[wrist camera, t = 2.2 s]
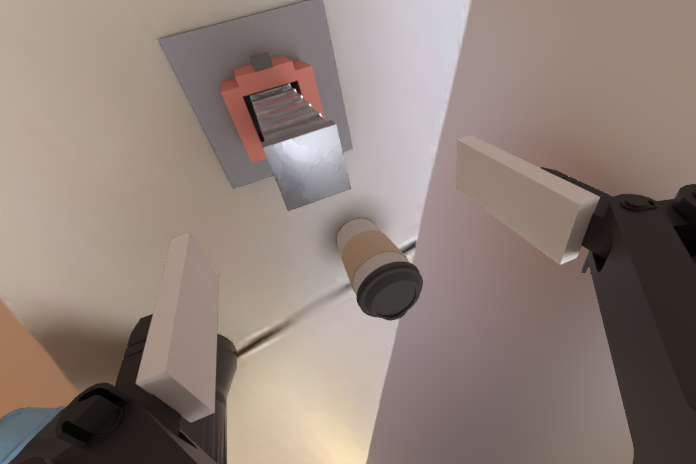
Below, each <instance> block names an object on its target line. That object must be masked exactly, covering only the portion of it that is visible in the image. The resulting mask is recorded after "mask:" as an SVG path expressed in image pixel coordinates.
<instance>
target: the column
mask: <svg viewBox="0 0 696 464" xmlns="http://www.w3.org/2000/svg"><path fill="white" fill-rule="evenodd" d="M250 98H251V101H252V104H253V107H254V110H255V113H256V116H257V119H258V122H259V125H260V128H261V132H262V134H263V137H264V140H265V141H264V142H261V143H262V146H263V149H264V152H265V154H266V157H267V159H268V162H269V164H270V167H271V169H272V172H273V174H274V177H275V179H276V182H277V184H278V187H279V189H280V192H281V194H282V197H283V199H284V202H285V204H286V207H287V209H288V211H290V210H293V209H296V208H298V207H301V206H304V205H307V204H310V203H312V202H315V201H318V200H321V199H324V198H327V197H329V196H332V195H335V194H338V193H341V192H343V191H346V190H349V189H351V187H350V183H349V178H348V174H347V170H346V165H345V161H344V156H343V152H342V148H341V143H340V139H339V134H338V130H337V126H336V124H335V123H334V122H333V121H332V120H330V121H325V120H324V119H323V118H322V117H321V113H320V112H319V111H315V110H314V109H313V108H312V107H311V104H310V103H309V102H306V101H305V100H304V99H303V96H302V95H301V94H298V93H297V92H296V89H295V88H292V87H291V85H290V83H287V84H284V85H280V86H277V87H274V88H270V89H267V90H263V91H260V92H257V93H253V94H250Z"/></svg>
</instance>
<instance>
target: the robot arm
mask: <svg viewBox="0 0 696 464" xmlns="http://www.w3.org/2000/svg"><path fill="white" fill-rule="evenodd" d="M456 188H457V189H458V190H459V191H461V192H462V193H463V194H465V195H466V196H467V197H469V198H470V199H472V200H473V201H474V202H476V203H477V204H478V205H480V206H481V207H482V208H484V209H485V210H487V211H488V212H489V213H490V214H492V215H493V216H495V217H496V218H497V219H499V220H500V221H502V222H503V223H504V224H505V225H507V226H508V227H509V228H511V229H512V230H514V231H515V232H516V233H518V234H519V235H520V236H522V237H523V238H524V239H526V240H527V241H528V242H530V243H531V244H532V245H534V246H535V247H536V248H538V249H539V250H540V251H542V252H543V253H545V254H546V255H547V256H549V257H550V258H551V259H553V260H554V261H555V262H557V263H558V264H559V265H560V264H563V263H566V262H568V261H570V260H572V259H575V258H577V256H578V253H579V251H580V248H581V246H584V247H585V248H587V249H588V250H590V251H589V253H588V255H587V258H586V260H585V263H584V265H583V268H582V273H586V270H587V268H588V267H590V271H591V275H592V279H593V283H594V287H595V291H596V295H597V299H598V303H599V307H600V311H601V315H602V319H603V324H604V328H605V332H606V336H607V340H608V344H609V348H610V352H611V356H612V360H613V364H614V368H615V373H616V376H617V381H618V385H619V389H620V393H621V397H622V401H623V405H624V409H625V413H626V418H627V421H628V425H629V430H630V434H631V438H632V442H633V447H634V459H633V464H696V184H691V185H685V186H683V187H682V188H680V190H679V191H678V193H677V195H676V197H675V198H674V199H671V200H663V201H655V200H653V199H651V198H648V197H645V196H641V195H634V194H621V195H617V196H614V197H613V196H610V195H608V194H606V193H604V192H602V191H599V190H597V189H595V188H593V187H591V186H589V185H587V184H584V183H582V182H580V181H579V182H578V181H577V180H576V179H574V178H571V177H568V176H567V175H565V174H563V173H561V172H558V171H556V170H552V169H548V168H543V167H541V168H539V167H537V166H534V165H532V164H530V163H528V162H526V161H524V160H522V159H520V158H518V157H516V156H513V155H511V154H509V153H507V152H505V151H503V150H501V149H499V148H497V147H495V146H493V145H490V144H488V143H486V142H484V141H482V140H480V139H478V138H476V137H474V136H472V135H470V136H467V137H464V138H461V139H458V140H457V163H456ZM218 291H219V275H218V273H217V272H216V270H215V269H214V267H213V266H212V264H211V263H210V262H209V260H208V259H207V257H206V256H205V254H204V253H203V251H202V250H201V248H200V247H199V245H198V244H197V243H196V241H195V240H194V238H193V237H192V235H191V234H190V233H187V234H184V235H181V236H178V237H175V238H173V239H172V240H171V244H170V248H169V252H168V256H167V260H166V264H165V268H164V272H163V276H162V280H161V284H160V288H159V292H158V296H157V300H156V304H155V308H154V312H153V314H151V315H149V316H146V317H143V318H141V319H140V320H139V322H138V323H137V325H136V326H135V328H134V329H133V331H132V332H131V335H130V339H129V342H128V345H127V346H128V348H127V349H126V352H125V355H124V358H125V359H124V360H123V362H122V365H121V368H120V371H119V375H118V378H117V381H116V384H115V387H114V386H113V385H111V384H109V383H99V384H96V385H94V386H92V387H90V388H87V389H86V390H85V391H83V392H82V393H81V394H79V395H78V396H77V397H76V398H75V399H74V400H73V401H72V402H71V403H70V404H69V405H68V406H67V407H64V406H61V407H59V408H20V409H17V410H14V411H12V412H10V413H8V414H6V415H5V416H3V417H2V418H1V419H0V464H227V414H226V399H227V395H228V392H229V389H230V386H231V383H232V380H233V377H234V374H235V371H236V367H237V353H236V349H235V347H234V345H233V344H232V343H231V342H230V341H229V340H227V339H226V338H224V337H222V336H219V335H217V322H218Z"/></svg>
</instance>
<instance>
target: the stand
mask: <svg viewBox="0 0 696 464" xmlns="http://www.w3.org/2000/svg"><path fill="white" fill-rule="evenodd" d="M158 41H159V43H160V45H161V47H162V49H163V51H164V53H165V55H166V57H167V59H168V61H169V63H170V65H171V67H172V69H173V71H174V73H175V75H176V77H177V78H178V80H179V82H180V84H181V86H182V88H183V90H184V92H185V94H186V96H187V98H188V100H189V102H190V104H191V106H192V108H193V110H194V112H195V114H196V116H197V118H198V120H199V122H200V124H201V126H202V128H203V130H204V132H205V134H206V136H207V138H208V140H209V142H210V144H211V146H212V147H213V149H214V151H215V153H216V155H217V157H218V159H219V161H220V163H221V165H222V167H223V169H224V171H225V173H226V175H227V177H228V179H229V181H230V183H231V185H232V187H233V189H234V188H237V187H240V186H243V185H246V184H249V183H252V182H255V181H258V180H261V179H264V178H267V177H270V176H273V175H274V174H273V172H272V169H271V167H270V164H269V162H268V159H267V157H266V154H265V152H264V149H263V146H262V143H261V142H264V141H265V140H264V137H263V134H262V132H261V128H260V125H259V122H258V119H257V116H256V113H255V110H254V107H253V104H252V101H251V98H250V94H253V93H257V92H260V91H263V90H267V89H270V88H274V87H277V86H280V85H284V84H287V83H290V85H291V87H292V88H295V89H296V92H297V93H298V94H301V95H302V96H303V99H304V100H305V101H306V102H309V103H310V104H311V107H312V108H313V109H314V110H315V111H319V112H320V113H321V117H322V118H323V119H324V120H325V121H330V120H332V121H333V122H334V123H335V124H336V126H337V130H338V134H339V139H340V143H341V148H342V152H344V151H347V150H350V149H353V147H352V142H351V137H350V132H349V127H348V122H347V117H346V113H345V108H344V103H343V98H342V93H341V88H340V83H339V78H338V73H337V68H336V63H335V58H334V53H333V49H332V44H331V39H330V34H329V29H328V24H327V19H326V14H325V9H324V4H323V0H308V1H304V2H301V3H297V4H293V5H289V6H285V7H281V8H278V9H274V10H270V11H266V12H262V13H258V14H255V15H251V16H247V17H243V18H239V19H235V20H232V21H228V22H224V23H220V24H216V25H212V26H209V27H205V28H201V29H197V30H193V31H189V32H186V33H182V34H178V35H174V36H170V37H166V38H163V39H159V40H158Z"/></svg>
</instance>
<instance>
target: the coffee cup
mask: <svg viewBox="0 0 696 464" xmlns="http://www.w3.org/2000/svg"><path fill="white" fill-rule="evenodd" d="M337 245H338V247H339V250H340V253H341V255H342V261H343V264H344V266H345V269H346V272H347V275H348V277H349V280H350V283H351V286H352V288H353V290H354V292H355V293H356V295H357V303H358V305H359V306H360V308H361V310H362V311H363V312H364V313H365V314H367V315H369V316H372V317H379V318H383V319H386V320H395V319H398V318H401V317H402V316H404V315H405V313H406V312H407V311H408V310H409V309H410V308H411V307H412V306H413V305H414V304H415V303H416V301H417V300H418V298H419V295H420V292H421V289H422V285H423V280H422V277H421V275H420V273H419V270H418V269H417V267H416V266H414V265H413V264H411V263H410V262H409V261H408V259H407V258H406V256H405V255H404V254H403V253H402V252H401V251H400V250H399V249H398V248H397V247H396V246H395V245H394V244H393V242H392V241H391V240H390V239H389V238H388V237H387V236H386V235H385V234H384V233H382V232H381V231H380V230H379V229H378V228H377V227H376V226H375V224H374V223H373V222H372V221H370V220H368V219H364V218H359V219H354V220H351V221H349V222H348V223H346V224H345V225H344V226H343V227H342V228H341V229H340V230H339V232H338V234H337Z"/></svg>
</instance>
